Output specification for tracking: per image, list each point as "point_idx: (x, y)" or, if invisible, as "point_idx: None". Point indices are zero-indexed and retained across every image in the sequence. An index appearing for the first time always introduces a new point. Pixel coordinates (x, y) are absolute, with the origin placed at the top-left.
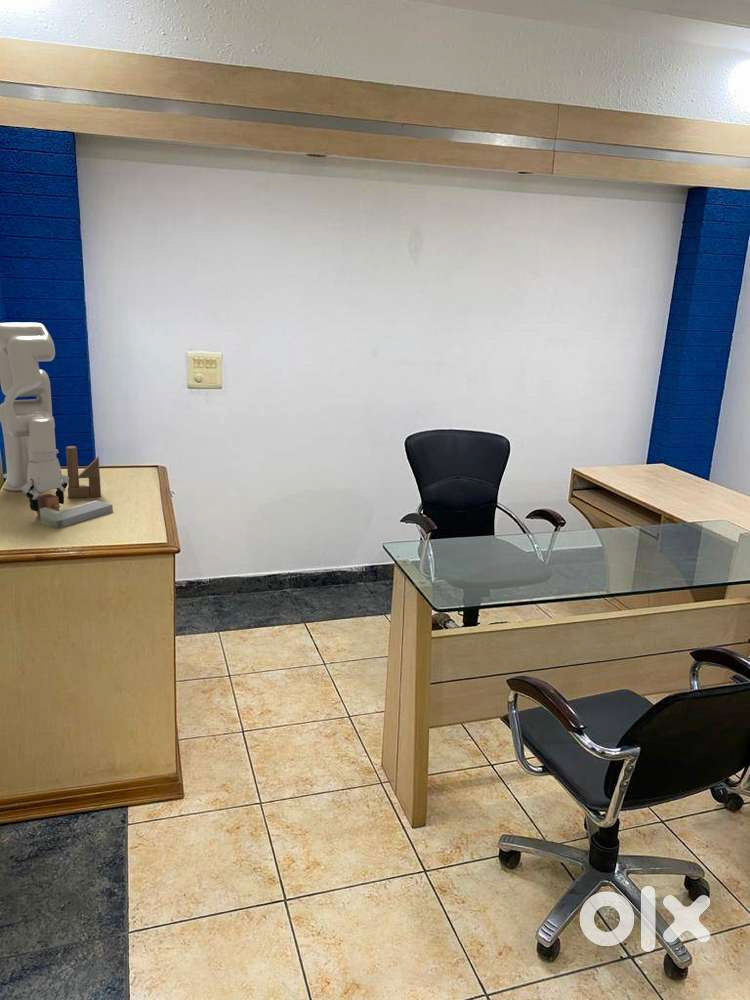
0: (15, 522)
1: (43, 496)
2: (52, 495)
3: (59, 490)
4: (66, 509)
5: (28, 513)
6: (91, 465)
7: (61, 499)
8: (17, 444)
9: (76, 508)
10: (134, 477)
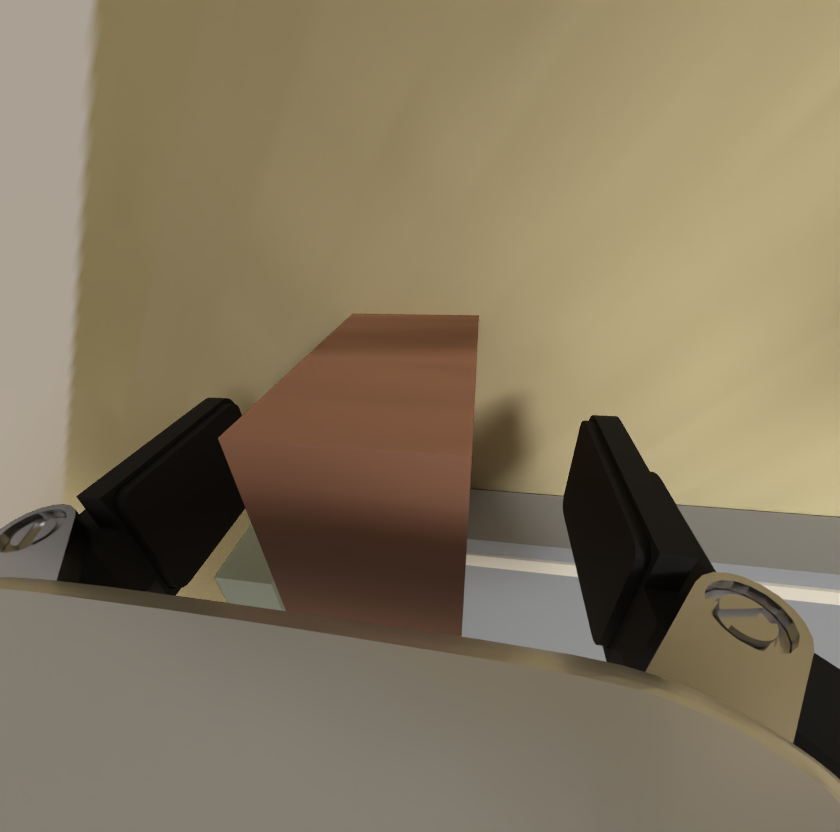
0: (134, 312)
1: (311, 549)
2: (442, 600)
3: (632, 664)
4: (500, 562)
5: (330, 136)
6: None
7: (574, 548)
8: None
9: (576, 593)
10: None
